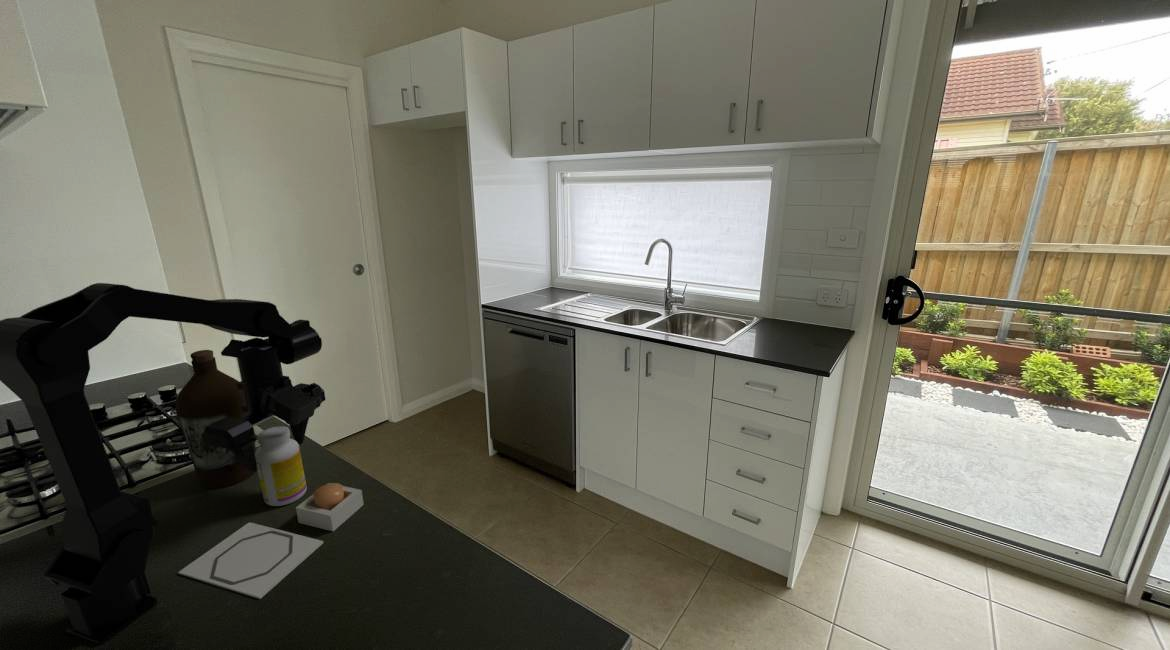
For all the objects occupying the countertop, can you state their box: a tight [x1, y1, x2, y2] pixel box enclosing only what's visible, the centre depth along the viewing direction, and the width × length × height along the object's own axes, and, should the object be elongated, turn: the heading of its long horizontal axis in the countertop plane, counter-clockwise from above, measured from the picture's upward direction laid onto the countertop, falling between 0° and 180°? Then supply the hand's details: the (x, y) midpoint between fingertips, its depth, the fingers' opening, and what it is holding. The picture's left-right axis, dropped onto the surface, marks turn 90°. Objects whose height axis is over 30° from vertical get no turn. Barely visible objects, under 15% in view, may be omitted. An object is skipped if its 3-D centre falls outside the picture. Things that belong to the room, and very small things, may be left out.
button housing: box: [295, 482, 364, 532], centre depth 81 cm, size 7×7×3 cm
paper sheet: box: [177, 522, 324, 600], centre depth 71 cm, size 11×15×1 cm
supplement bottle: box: [255, 425, 307, 507], centre depth 84 cm, size 7×7×13 cm
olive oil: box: [174, 349, 257, 489], centre depth 88 cm, size 11×11×25 cm
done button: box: [312, 482, 345, 511], centre depth 80 cm, size 4×4×2 cm
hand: (277, 456), depth 83 cm, fingers open, 9 cm apart
